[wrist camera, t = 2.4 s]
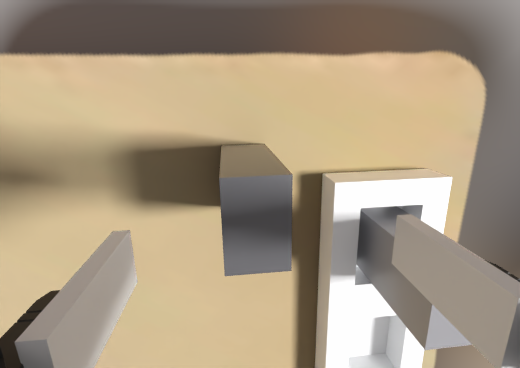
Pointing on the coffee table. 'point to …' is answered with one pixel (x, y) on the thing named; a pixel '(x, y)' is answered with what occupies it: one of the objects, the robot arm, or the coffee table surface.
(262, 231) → the grey rectangular block
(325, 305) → the socket strip
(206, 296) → the coffee table surface
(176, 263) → the coffee table surface
